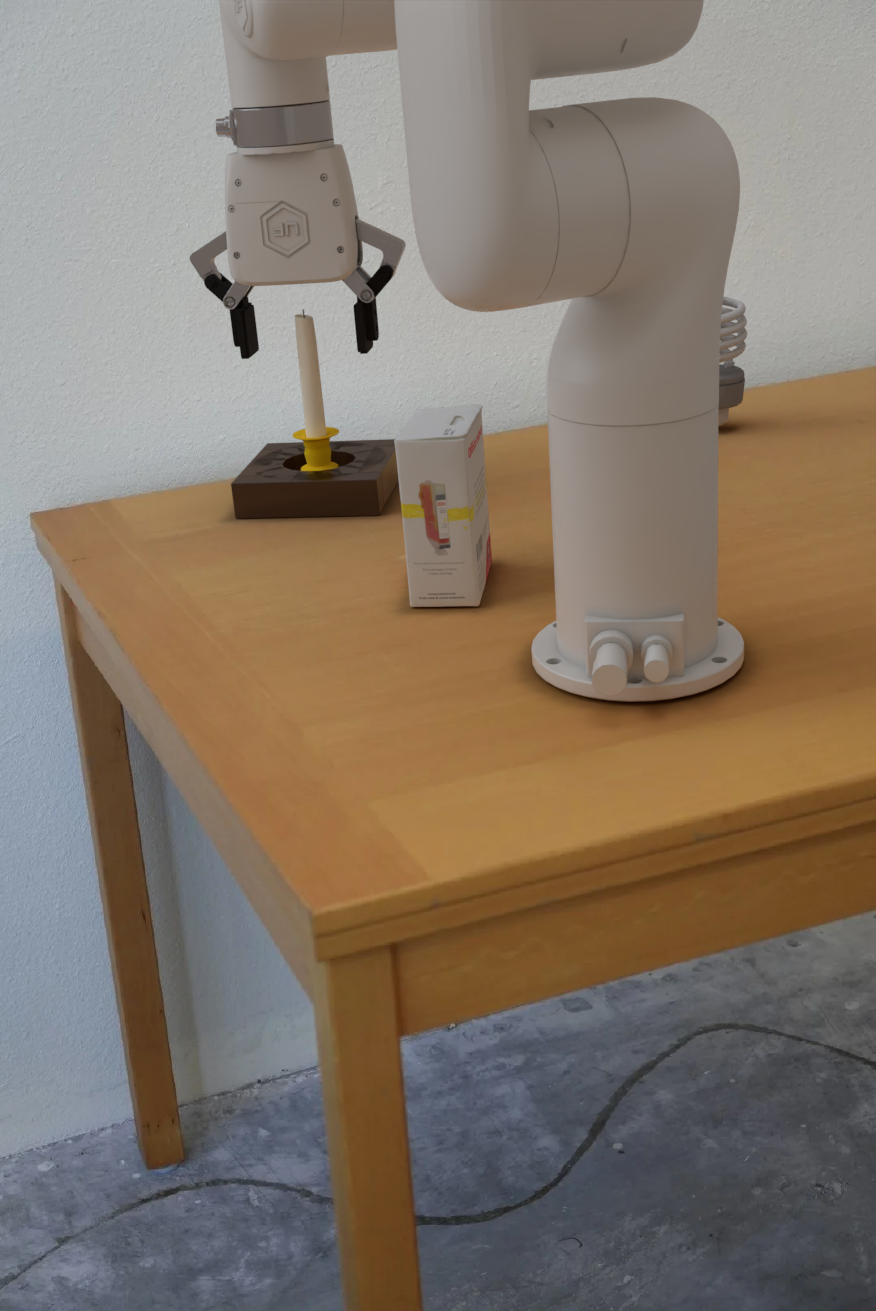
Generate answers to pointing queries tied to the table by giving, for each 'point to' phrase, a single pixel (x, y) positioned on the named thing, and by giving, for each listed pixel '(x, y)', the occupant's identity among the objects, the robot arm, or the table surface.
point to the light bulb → (731, 357)
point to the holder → (317, 481)
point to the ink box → (444, 506)
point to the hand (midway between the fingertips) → (307, 352)
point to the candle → (312, 400)
